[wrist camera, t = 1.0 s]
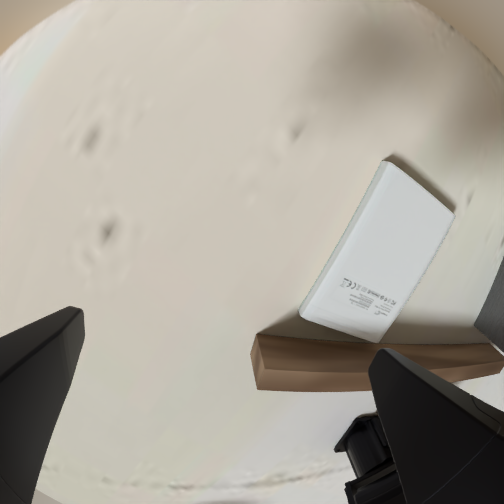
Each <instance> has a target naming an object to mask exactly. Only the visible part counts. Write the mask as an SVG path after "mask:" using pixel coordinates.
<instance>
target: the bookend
mask: <svg viewBox="0 0 504 504" xmlns="http://www.w3.org/2000/svg"><path fill="white" fill-rule="evenodd" d="M474 326H475V327H476V328H477V329H478V330H479V331H481V332H482V333H483V334H484V335H485V336H486V337H487V338H488V339H489V340H491V341H492V342H493V343H494V344H495V345H496V346H497V347H498V348H499V349H500V350H501V351H502V352H504V258H503V260H502V263H501V266H500V268H499V271H498V273H497V276H496V278H495V281H494V283H493V285H492V288H491V290H490V292H489V295H488V297H487V299H486V301H485V304H484V306H483V308H482V310H481V312H480V314H479V316H478V318H477V320H476V322H475V324H474Z"/></svg>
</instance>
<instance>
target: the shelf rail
mask: <svg viewBox="0 0 504 504" xmlns="http://www.w3.org/2000/svg"><path fill="white" fill-rule="evenodd" d="M381 348H390V349H393V350H394V351H396V352H398V353H400V354H401V355H403V356H405V357H406V358H408V359H410V360H412V361H413V362H415V363H417V364H418V365H420V366H422V367H424V368H425V369H427V370H429V371H431V372H432V373H434V374H436V375H438V376H439V377H441V378H443V379H444V380H446V381H448V382H456V381H463V380H468V379H474V378H479V377H484V376H489V375H494V374H498V373H500V371H501V370H502V368H503V367H504V356H503V355H502V354H501V353H500V352H499V351H498V350H496V349H495V348H494V347H493V346H492V345H491V344H490V343H480V344H442V345H417V344H377V343H355V342H338V341H324V340H312V339H300V338H289V337H280V336H270V335H261V334H256V337H255V340H254V344H253V347H252V350H251V353H250V355H251V360H252V366H253V371H254V376H255V381H256V386H257V390H270V391H293V392H350V391H372V388H371V384H370V380H369V376H368V368H369V366H370V364H371V362H372V360H373V358H374V356H375V355H376V353H377V351H378V350H379V349H381Z"/></svg>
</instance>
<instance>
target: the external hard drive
mask: <svg viewBox="0 0 504 504" xmlns="http://www.w3.org/2000/svg"><path fill="white" fill-rule="evenodd" d="M454 219H455V215H454V214H453V213H452V212H451V211H450V210H449V209H448V208H447V207H446V206H445V205H443V204H442V203H441V202H440V201H439V200H438V199H437V198H435V197H434V196H433V195H432V194H431V193H430V192H428V191H427V190H426V189H425V188H424V187H422V186H421V185H420V184H419V183H418V182H416V181H415V180H414V179H413V178H411V177H410V176H409V175H408V174H406V173H405V172H404V171H402V170H401V169H400V168H398V167H397V166H396V165H394V164H393V163H392V162H388V161H384V160H382V161H381V163H380V165H379V167H378V169H377V171H376V173H375V175H374V177H373V179H372V181H371V183H370V185H369V187H368V189H367V191H366V193H365V194H364V196H363V198H362V200H361V202H360V204H359V206H358V208H357V209H356V211H355V213H354V215H353V217H352V219H351V221H350V222H349V224H348V226H347V228H346V229H345V231H344V233H343V235H342V237H341V238H340V240H339V242H338V244H337V245H336V247H335V249H334V251H333V252H332V254H331V256H330V258H329V259H328V261H327V263H326V264H325V266H324V268H323V269H322V271H321V273H320V275H319V276H318V278H317V280H316V281H315V283H314V285H313V286H312V288H311V290H310V291H309V293H308V295H307V296H306V298H305V299H304V301H303V302H302V304H301V306H300V307H299V309H298V311H299V313H300V316H301V317H302V318H304V319H306V320H309V321H312V322H315V323H317V324H320V325H324V326H327V327H329V328H332V329H335V330H338V331H341V332H344V333H347V334H349V335H352V336H355V337H358V338H361V339H364V340H367V341H370V342H373V343H378V342H379V341H380V340H381V339H382V337H383V336H384V334H385V333H386V331H387V330H388V329H389V327H390V326H391V324H392V323H393V322H394V320H395V319H396V317H397V316H398V314H399V313H400V311H401V310H402V309H403V307H404V306H405V304H406V302H407V301H408V299H409V298H410V296H411V295H412V293H413V292H414V290H415V288H416V287H417V285H418V284H419V282H420V281H421V279H422V277H423V276H424V274H425V272H426V271H427V269H428V267H429V265H430V264H431V262H432V260H433V259H434V257H435V255H436V253H437V252H438V250H439V248H440V246H441V244H442V242H443V240H444V239H445V237H446V235H447V233H448V231H449V229H450V227H451V225H452V223H453V221H454Z"/></svg>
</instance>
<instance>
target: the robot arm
mask: <svg viewBox="0 0 504 504" xmlns="http://www.w3.org/2000/svg"><path fill="white" fill-rule="evenodd" d="M84 339H85V327H84V313H83V310H82V309H80V308H76V307H72V306H68V307H66V308H63V309H61V310H59V311H57V312H55V313H52V314H50V315H48V316H46V317H44V318H41V319H39V320H37V321H35V322H33V323H31V324H28V325H26V326H24V327H22V328H20V329H18V330H15V331H13V332H11V333H9V334H7V335H5V336H3V337H0V504H31V503H32V499H33V495H34V491H35V487H36V484H37V480H38V477H39V473H40V470H41V467H42V463H43V460H44V457H45V454H46V451H47V448H48V445H49V442H50V439H51V436H52V433H53V430H54V427H55V425H56V422H57V419H58V417H59V414H60V411H61V409H62V406H63V403H64V401H65V398H66V396H67V393H68V391H69V388H70V386H71V383H72V379H73V376H74V372H75V369H76V365H77V362H78V359H79V355H80V352H81V349H82V346H83V343H84ZM368 376H369V380H370V384H371V388H372V392H373V396H374V400H375V404H376V408H377V411H378V414H379V416H374V417H365V418H358V419H356V420H354V422H353V423H352V424H351V426H350V427H349V429H348V430H347V432H346V433H345V434H344V436H343V437H342V438H341V440H340V441H339V442H338V444H337V445H336V446H335V448H334V451H335V452H336V453H337V452H345V451H346V453H347V456H348V458H349V460H350V463H351V465H352V468H353V470H354V473H355V475H356V477H357V479H355V480H353V481H349V482H347V483H345V486H346V488H345V489H344V490H345V493H346V495H347V498H348V504H504V412H503V411H501V410H499V409H497V408H495V407H493V406H491V405H489V404H487V403H485V402H483V401H481V400H480V399H478V398H476V397H474V396H473V395H470V394H469V393H467V392H465V391H464V390H462V389H460V388H458V387H457V386H455V385H453V384H451V383H450V382H448V381H446V380H444V379H443V378H441V377H439V376H438V375H436V374H434V373H432V372H431V371H429V370H427V369H425V368H424V367H422V366H420V365H418V364H417V363H415V362H413V361H412V360H410V359H408V358H406V357H405V356H403V355H401V354H400V353H398V352H396V351H394V350H393V349H390V348H381V349H379V350H378V351H377V353H376V355H375V356H374V358H373V360H372V362H371V364H370V366H369V368H368Z"/></svg>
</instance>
